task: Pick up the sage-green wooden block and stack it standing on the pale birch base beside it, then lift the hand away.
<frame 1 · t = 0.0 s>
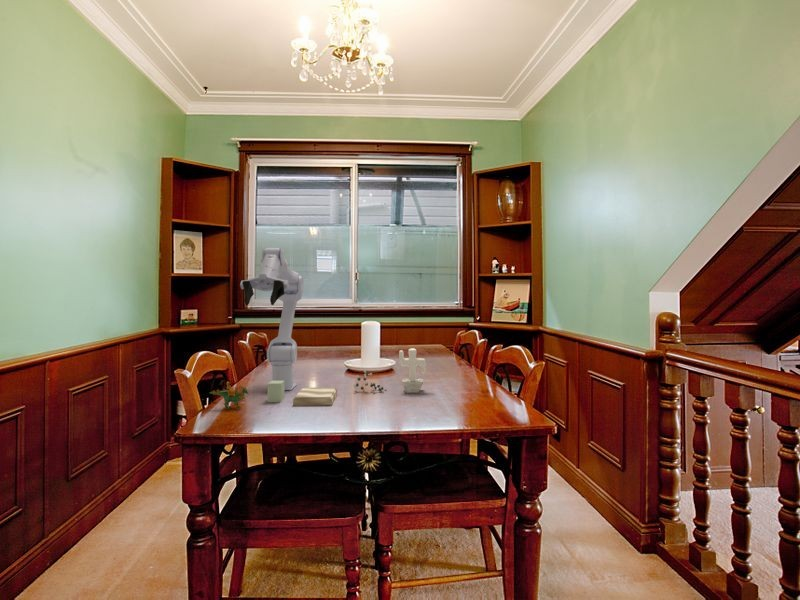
hand: (259, 302, 136), 32 cm above the table, tool tilted 50°, fingers open, 7 cm apart
birch base: (316, 399, 148), on the table
figurine: (229, 408, 139), on the table
figurine 2: (412, 391, 160), on the table
molecule model: (370, 392, 159), on the table
sage block: (276, 400, 148), on the table
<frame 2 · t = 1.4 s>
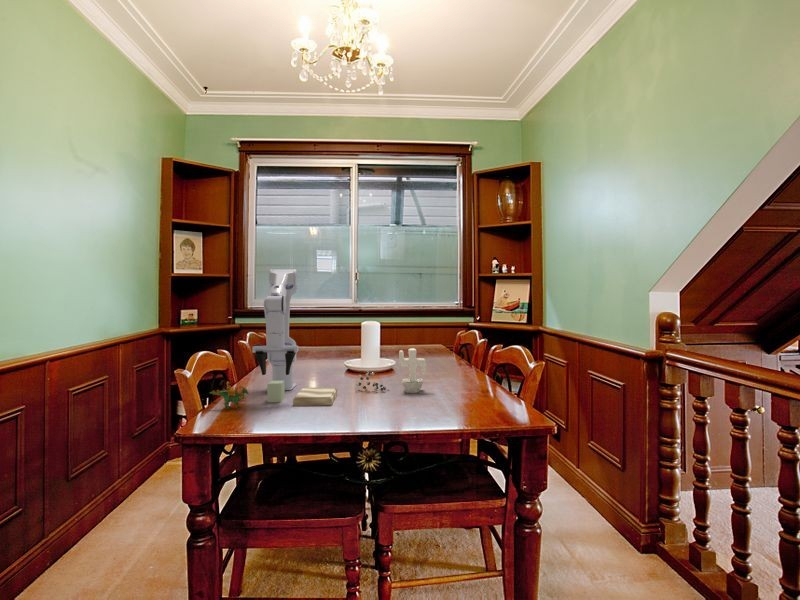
hand: (275, 374, 147), 8 cm above the table, tool pointing down, fingers open, 7 cm apart
molecule model: (372, 391, 160), on the table
everything else where it was.
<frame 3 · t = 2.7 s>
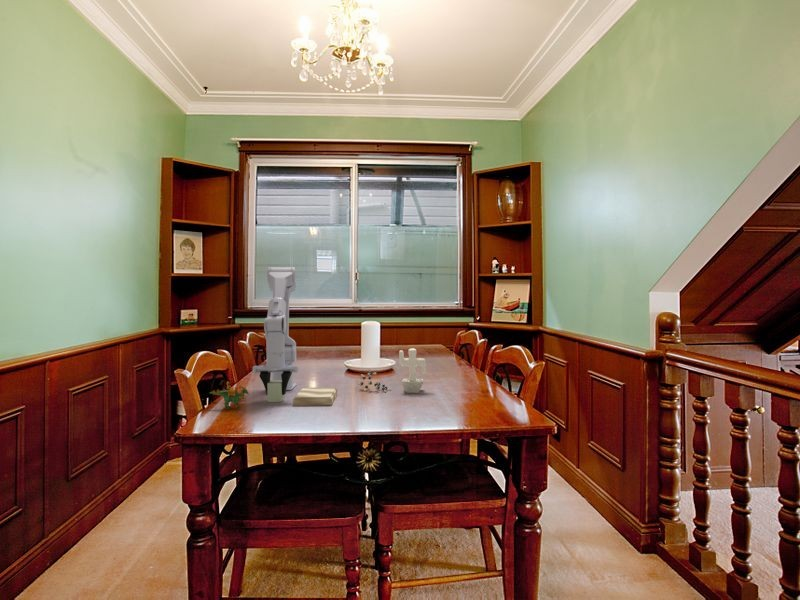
hand: (276, 394, 148), 2 cm above the table, tool pointing down, fingers closed on sage block, 4 cm apart
sage block: (276, 400, 148), on the table, touching gripper
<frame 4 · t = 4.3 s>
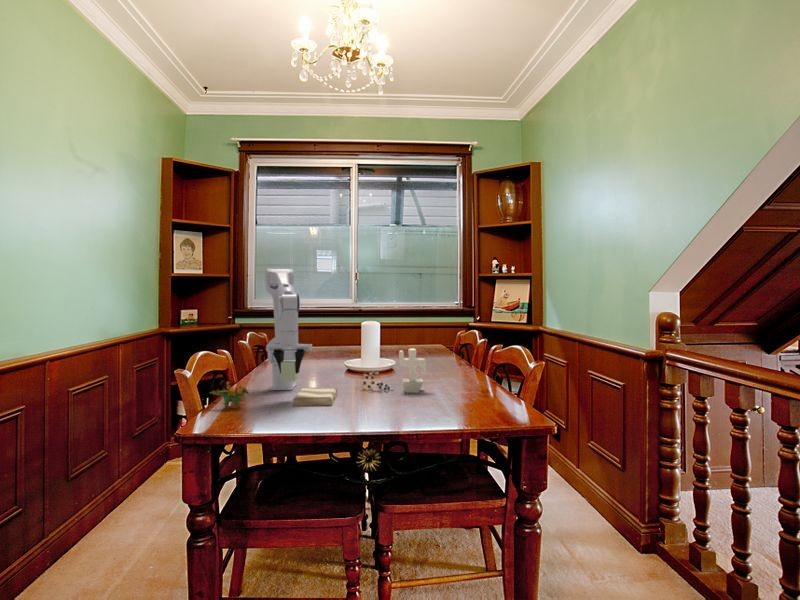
hand: (289, 372, 147), 9 cm above the table, tool pointing down, fingers closed on sage block, 4 cm apart
sage block: (289, 379, 147), point 7 cm above the table, touching gripper
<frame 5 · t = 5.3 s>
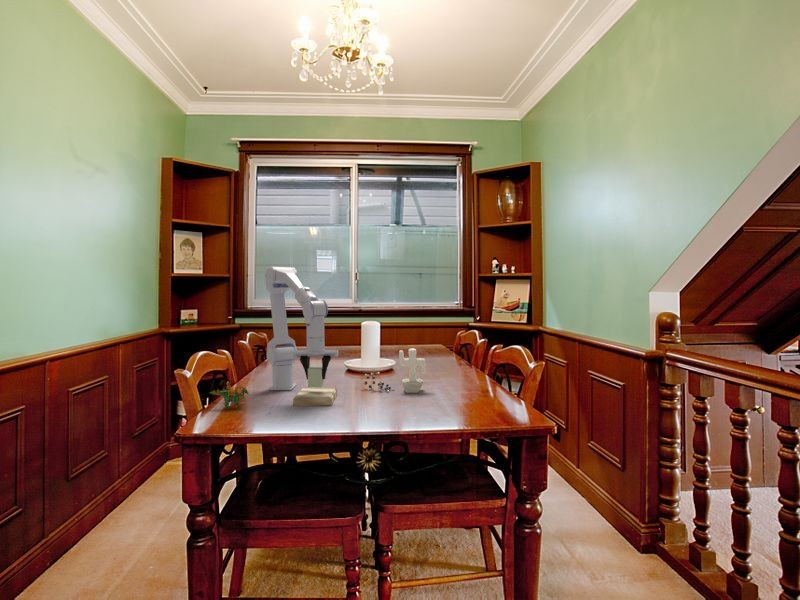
hand: (316, 378, 148), 7 cm above the table, tool pointing down, fingers closed on sage block, 4 cm apart
sage block: (315, 385, 147), point 5 cm above the table, touching gripper
when the fingers open (5 cm above the table, at t = 6.1 s): sage block stays where it is, resting on birch base.
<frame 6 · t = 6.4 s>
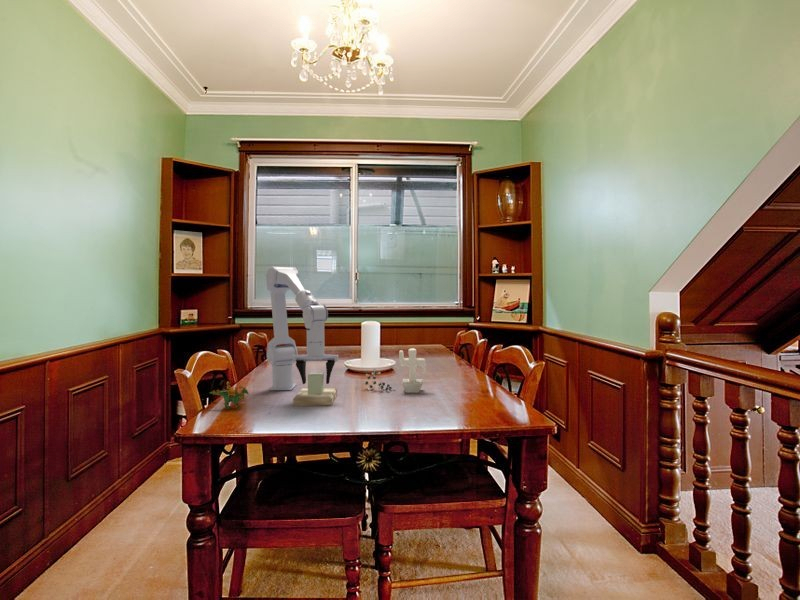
hand: (316, 383, 148), 5 cm above the table, tool pointing down, fingers open, 7 cm apart
sage block: (315, 392, 148), point 2 cm above the table, touching birch base
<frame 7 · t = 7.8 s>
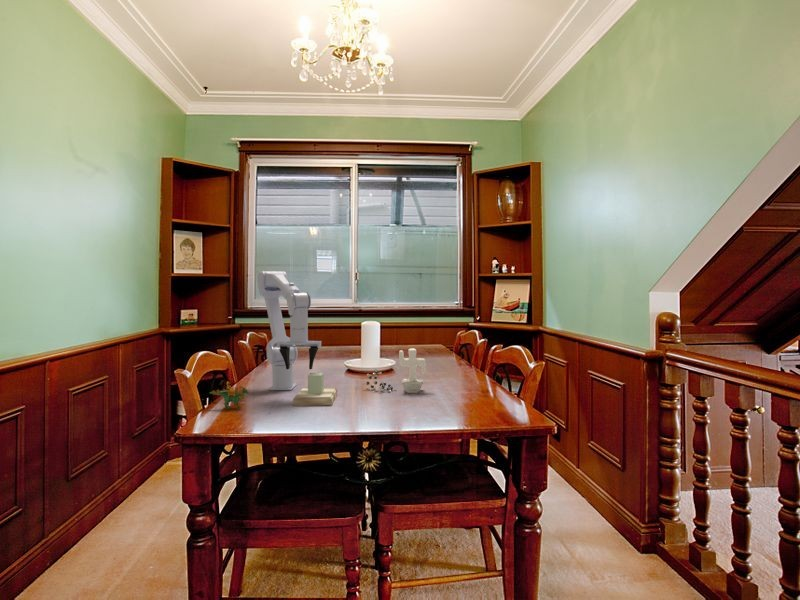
hand: (299, 368, 152), 9 cm above the table, tool pointing down, fingers open, 7 cm apart
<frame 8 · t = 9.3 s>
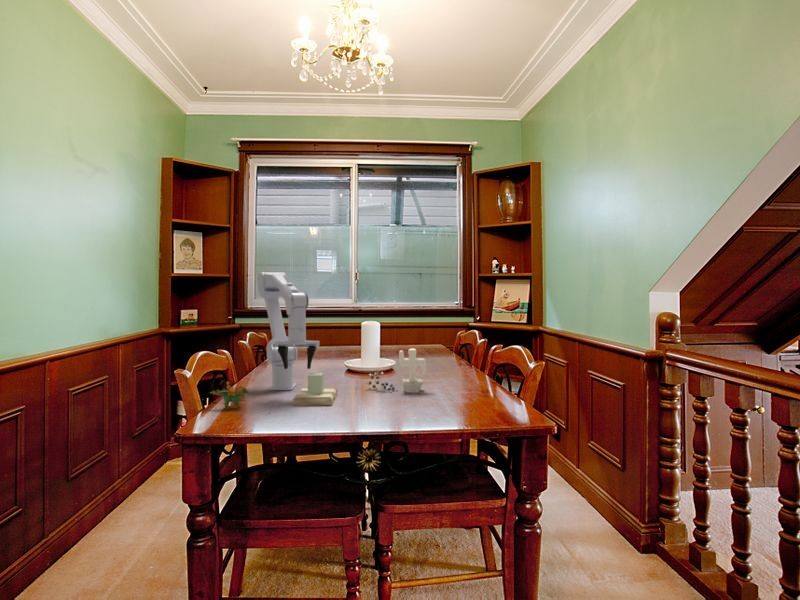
hand: (297, 368, 153), 9 cm above the table, tool pointing down, fingers open, 7 cm apart
at the end: sage block inside the target area on the birch base (0.3 cm from its centre), point 2.5 cm above the birch base's base; sage block tilted 0°; the gripper is holding nothing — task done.
